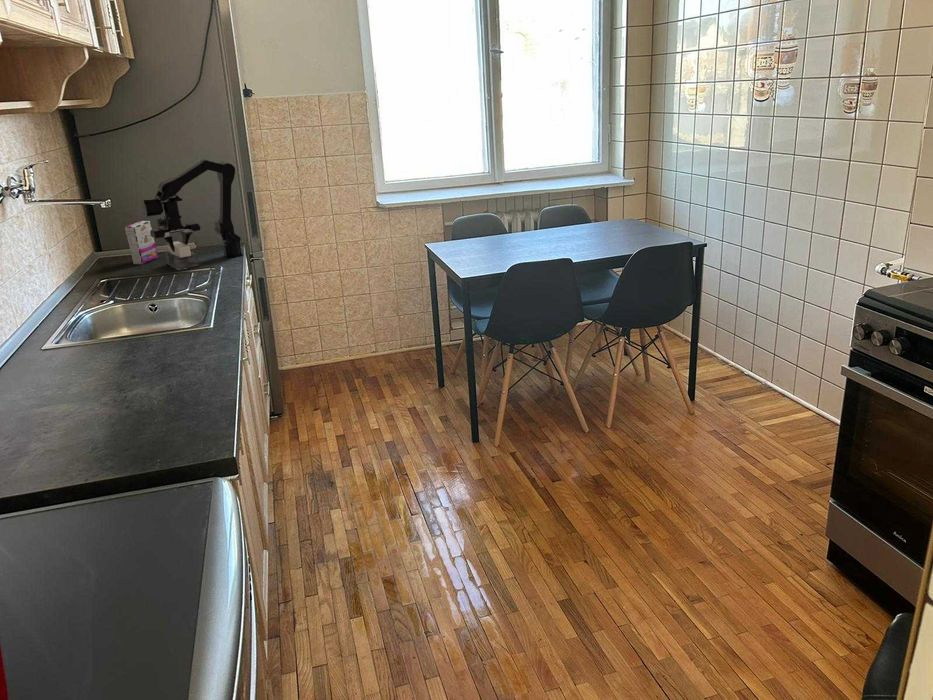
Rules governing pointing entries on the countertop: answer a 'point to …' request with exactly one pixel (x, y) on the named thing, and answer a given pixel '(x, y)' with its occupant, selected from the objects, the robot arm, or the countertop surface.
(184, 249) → the clay block
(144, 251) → the candy bar box
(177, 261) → the dark grey angular piece
